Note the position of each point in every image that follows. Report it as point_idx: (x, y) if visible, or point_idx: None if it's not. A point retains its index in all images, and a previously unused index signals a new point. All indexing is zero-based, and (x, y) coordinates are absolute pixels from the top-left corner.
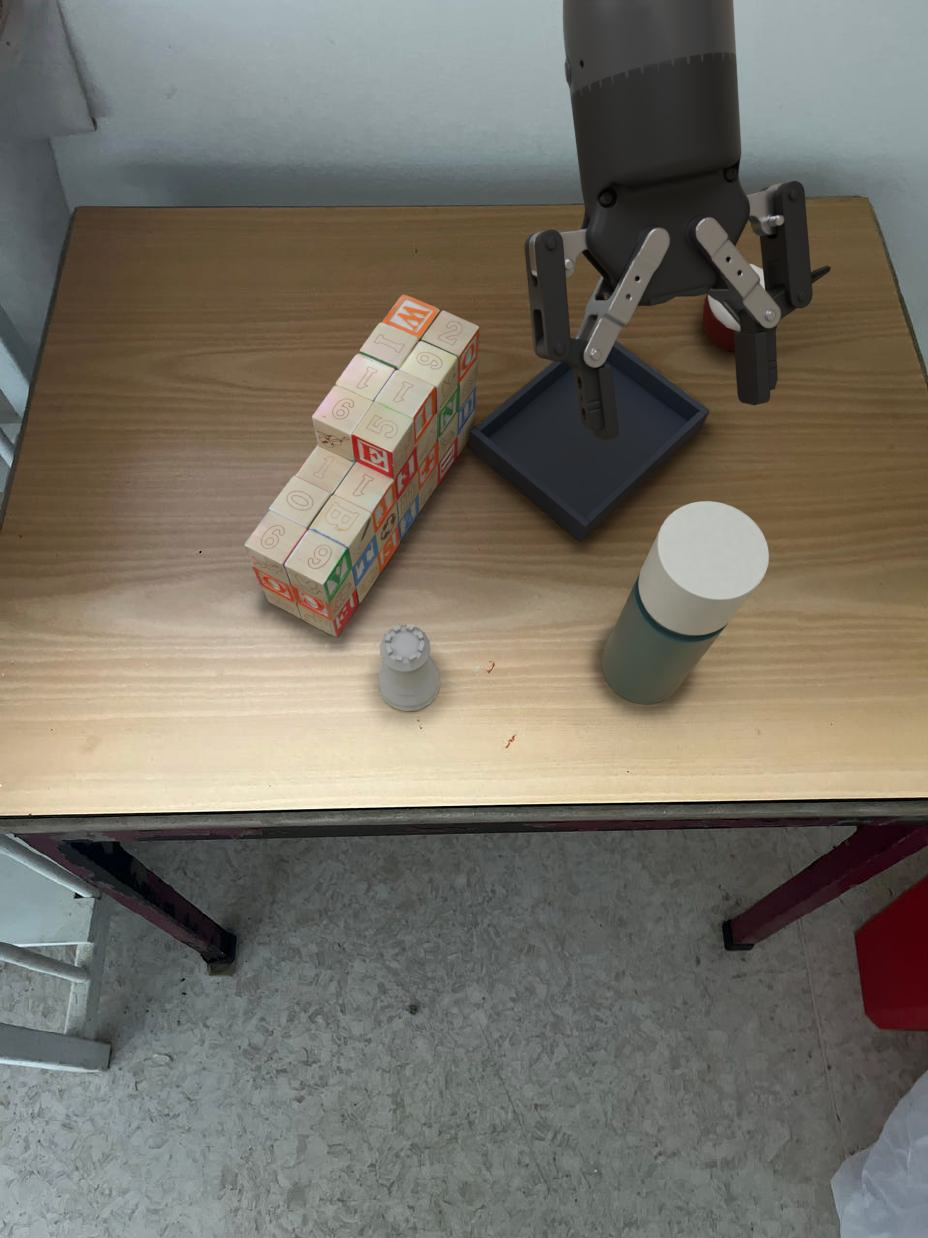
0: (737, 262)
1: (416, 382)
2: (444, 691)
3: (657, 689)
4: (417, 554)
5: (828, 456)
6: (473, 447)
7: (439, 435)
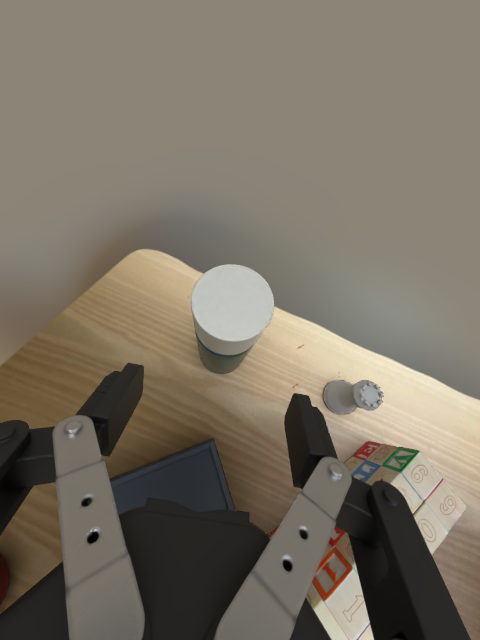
0: (79, 522)
1: (339, 614)
2: (322, 385)
3: None
4: None
5: None
6: None
7: None
